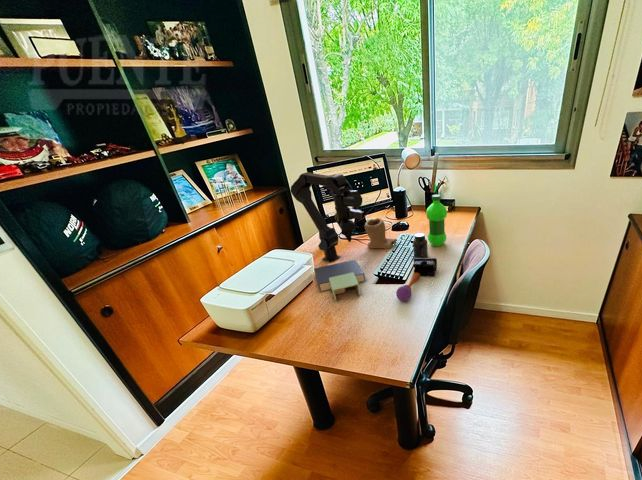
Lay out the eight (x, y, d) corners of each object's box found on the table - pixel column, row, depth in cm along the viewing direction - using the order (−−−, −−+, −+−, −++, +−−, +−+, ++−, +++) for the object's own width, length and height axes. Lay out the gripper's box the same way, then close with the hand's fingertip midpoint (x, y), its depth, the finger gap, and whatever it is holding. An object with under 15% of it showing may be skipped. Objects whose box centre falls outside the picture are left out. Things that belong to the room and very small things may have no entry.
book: (316, 276, 152) (313, 268, 150) (357, 266, 157) (355, 259, 155) (320, 291, 140) (318, 283, 138) (365, 281, 145) (363, 273, 142)
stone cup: (364, 250, 172) (359, 223, 163) (372, 241, 181) (368, 215, 172) (391, 252, 168) (387, 224, 159) (398, 243, 177) (395, 215, 168)
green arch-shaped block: (328, 277, 137) (332, 289, 129) (353, 272, 139) (358, 283, 132) (331, 289, 141) (335, 301, 133) (355, 283, 143) (360, 295, 136)
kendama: (424, 271, 139) (409, 292, 123) (422, 283, 142) (407, 305, 126) (411, 268, 140) (394, 288, 124) (409, 280, 144) (393, 301, 128)
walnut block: (342, 278, 138) (344, 284, 135) (352, 276, 139) (354, 281, 136) (343, 286, 141) (346, 291, 138) (353, 283, 142) (355, 289, 139)
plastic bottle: (444, 248, 166) (444, 198, 152) (425, 247, 169) (422, 198, 155) (449, 240, 174) (449, 192, 159) (430, 239, 177) (428, 192, 163)
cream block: (331, 280, 137) (333, 286, 134) (341, 278, 138) (343, 284, 135) (333, 288, 140) (335, 294, 137) (343, 286, 141) (345, 292, 138)
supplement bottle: (411, 257, 161) (410, 234, 154) (424, 254, 163) (423, 231, 156) (417, 262, 156) (416, 238, 149) (430, 259, 158) (429, 235, 151)
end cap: (437, 269, 148) (436, 255, 144) (435, 276, 143) (435, 262, 139) (415, 269, 150) (414, 255, 146) (413, 276, 145) (412, 262, 141)
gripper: (364, 207, 139) (369, 241, 148) (354, 197, 153) (359, 228, 162) (338, 212, 136) (345, 246, 145) (331, 201, 151) (337, 233, 160)
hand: (347, 238), depth 153 cm, fingers open, 9 cm apart
